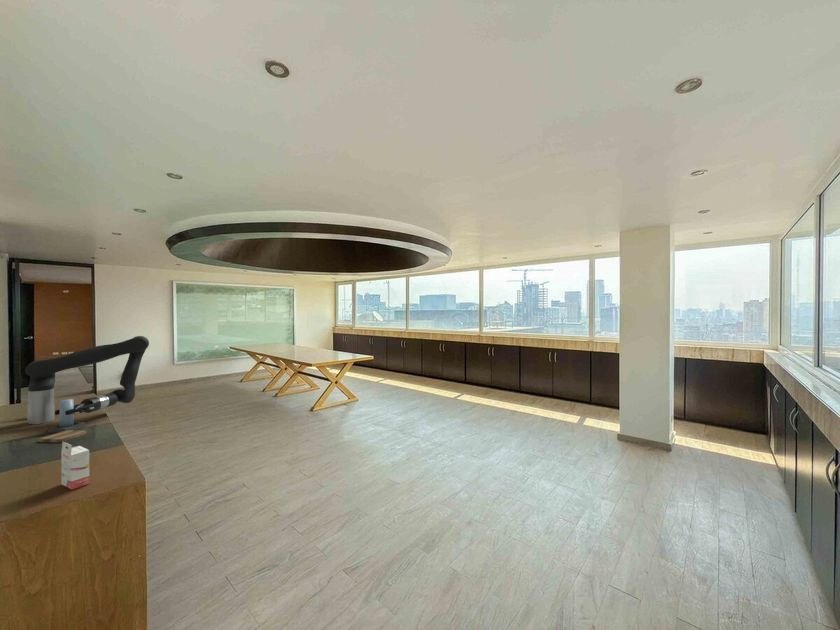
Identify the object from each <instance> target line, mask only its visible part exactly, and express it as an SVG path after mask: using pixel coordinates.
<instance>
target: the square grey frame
mask: <svg viewBox="0 0 840 630" xmlns="http://www.w3.org/2000/svg"><path fill="white" fill-rule="evenodd" d="M82 426H86V422H85V421H84V422H83V421H81V422H80V421H79V422H77V421H76V422H75V421H74V425H73V426H70V427H67V428H60V425H59V424H57V425H54V426H51V427H48V433H59V432H62V431H65V430H73V429H75V430H77V429H76V428H78V429H80V428H79V427H82ZM82 428H83V427H82Z"/></svg>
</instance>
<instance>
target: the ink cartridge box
mask: <svg viewBox="0 0 840 630" xmlns="http://www.w3.org/2000/svg"><path fill="white" fill-rule="evenodd" d="M66 447H67V448H66ZM60 453H61V456H60V457H61V458H60V460H61V485H62V486H64V487H66V488H67V489H69V490H71V491H72V490H74V489H77V488H81V487H84V486H87V485H90V481H91V480H90V450H89V449H88V448H85V447H84V446H81V445H77V446H72V444H69V443H68V442H66V441H65V442H62V444H61V452H60Z"/></svg>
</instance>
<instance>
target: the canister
mask: <svg viewBox="0 0 840 630" xmlns="http://www.w3.org/2000/svg"><path fill="white" fill-rule="evenodd" d="M74 402H75V401H74V398H66V399H62V400H59V403H58V404H59V405H58V406H59V407H58V410H59V414H58V415H59V419H58V420H59V424H58V425H60V428H67V427H70V426H73V425H74V422H75V415H74V414H75V413H73V414H70V415H65V411H67V410H70V409H74V405H75V404H74Z"/></svg>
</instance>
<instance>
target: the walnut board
mask: <svg viewBox="0 0 840 630" xmlns="http://www.w3.org/2000/svg"><path fill="white" fill-rule="evenodd" d="M84 434H85V435H87V434H88V431H87V430H77V429H75V430H65V431H62V432H54V433H52V434H49V435H46V436H44V437H40V438H38V442H39V443H59V442H62V443H63V442H64V441H65V442H68V441H70V439H71V440H73V438H74V439H77V438H79V437H82V436H85V435H84ZM81 435H82V436H81ZM67 440H68V441H67Z"/></svg>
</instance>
